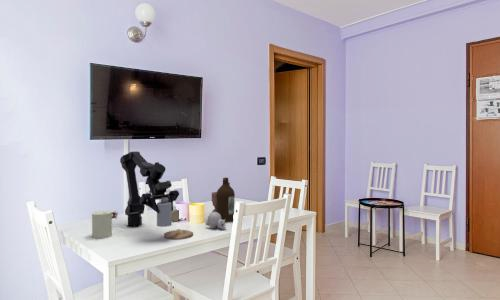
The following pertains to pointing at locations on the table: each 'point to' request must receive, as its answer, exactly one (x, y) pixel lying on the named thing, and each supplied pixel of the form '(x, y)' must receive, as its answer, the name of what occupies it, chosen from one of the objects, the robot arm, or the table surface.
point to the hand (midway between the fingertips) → (165, 211)
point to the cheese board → (178, 234)
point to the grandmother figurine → (114, 213)
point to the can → (101, 224)
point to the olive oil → (225, 201)
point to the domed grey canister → (164, 213)
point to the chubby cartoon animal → (215, 221)
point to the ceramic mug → (175, 214)
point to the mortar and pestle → (215, 200)
